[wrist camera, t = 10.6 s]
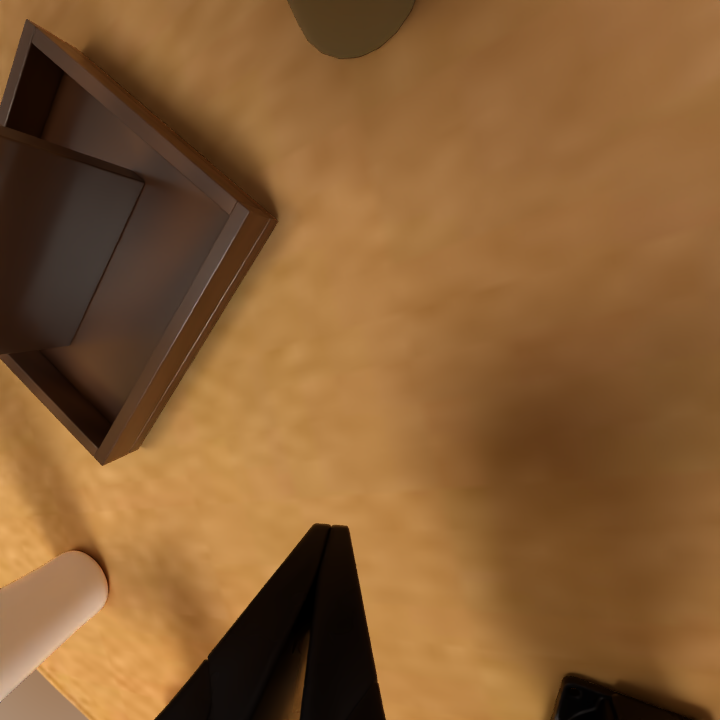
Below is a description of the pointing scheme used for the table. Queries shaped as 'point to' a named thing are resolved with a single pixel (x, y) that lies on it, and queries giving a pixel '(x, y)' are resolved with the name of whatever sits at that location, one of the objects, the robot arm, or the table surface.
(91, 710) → the table surface
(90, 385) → the tray
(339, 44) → the olive game pawn
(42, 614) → the drinking glass
